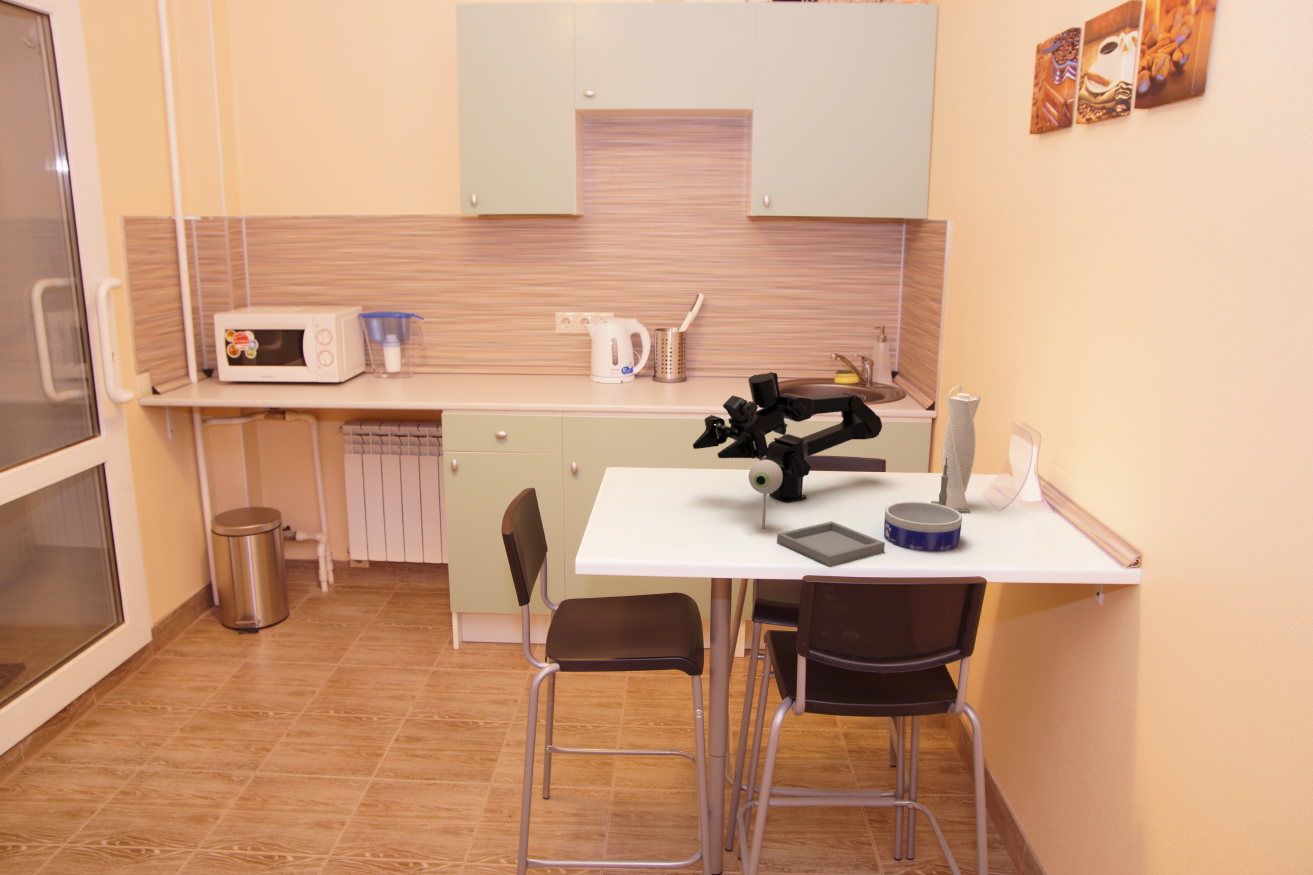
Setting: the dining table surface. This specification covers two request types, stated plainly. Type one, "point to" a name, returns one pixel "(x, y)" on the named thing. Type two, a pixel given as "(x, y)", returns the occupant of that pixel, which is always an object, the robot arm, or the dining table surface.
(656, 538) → the dining table surface
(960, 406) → the skyscraper
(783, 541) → the tray
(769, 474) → the lollipop
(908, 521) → the dog bowl
